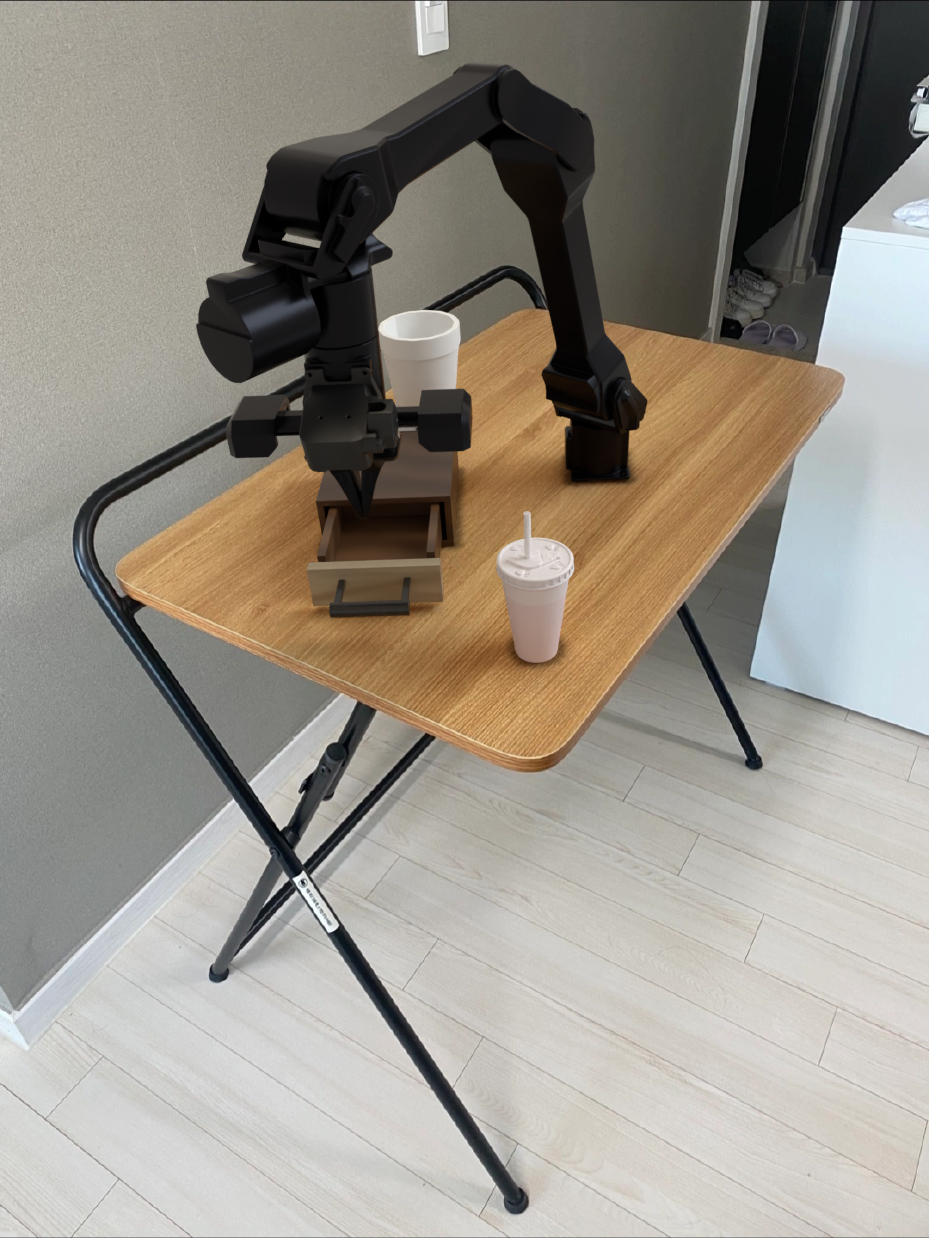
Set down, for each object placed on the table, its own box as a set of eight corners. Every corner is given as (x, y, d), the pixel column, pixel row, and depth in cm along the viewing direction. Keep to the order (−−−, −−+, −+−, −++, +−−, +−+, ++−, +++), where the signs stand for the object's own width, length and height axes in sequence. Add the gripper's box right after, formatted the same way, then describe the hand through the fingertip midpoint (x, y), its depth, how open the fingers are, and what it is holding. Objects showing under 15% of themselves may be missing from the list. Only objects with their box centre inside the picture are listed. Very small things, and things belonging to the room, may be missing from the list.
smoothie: (496, 630, 87) (489, 495, 78) (566, 622, 87) (567, 488, 78) (504, 676, 82) (498, 538, 73) (579, 668, 82) (581, 530, 73)
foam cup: (438, 451, 114) (429, 346, 106) (375, 435, 118) (362, 333, 110) (479, 418, 120) (474, 316, 112) (418, 404, 124) (409, 305, 116)
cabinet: (454, 545, 98) (450, 495, 94) (324, 550, 99) (315, 501, 95) (459, 470, 110) (455, 424, 106) (343, 475, 111) (335, 429, 107)
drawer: (441, 635, 85) (437, 597, 83) (305, 639, 86) (297, 602, 83) (449, 519, 100) (446, 484, 98) (333, 523, 101) (327, 488, 98)
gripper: (187, 384, 65) (233, 573, 75) (462, 374, 64) (473, 568, 73) (225, 324, 74) (262, 500, 83) (467, 315, 73) (476, 494, 82)
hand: (364, 516), depth 80 cm, fingers closed
